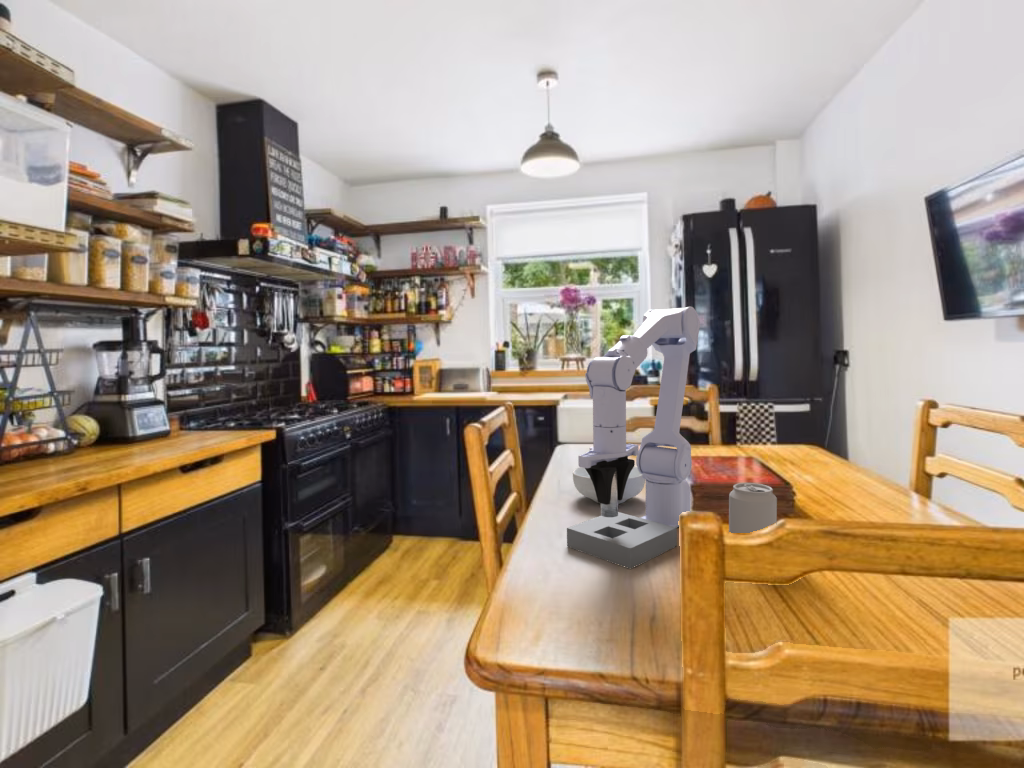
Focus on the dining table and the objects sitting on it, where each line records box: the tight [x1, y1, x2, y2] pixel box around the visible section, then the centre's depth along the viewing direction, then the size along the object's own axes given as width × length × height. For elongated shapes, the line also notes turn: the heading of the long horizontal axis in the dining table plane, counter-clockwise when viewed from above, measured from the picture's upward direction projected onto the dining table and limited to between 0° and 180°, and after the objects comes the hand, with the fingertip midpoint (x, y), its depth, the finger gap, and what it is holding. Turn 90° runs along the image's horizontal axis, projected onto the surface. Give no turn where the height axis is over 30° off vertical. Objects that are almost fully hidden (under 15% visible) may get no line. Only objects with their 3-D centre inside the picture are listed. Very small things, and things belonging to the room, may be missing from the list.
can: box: [728, 482, 778, 533], centre depth 92 cm, size 8×8×12 cm
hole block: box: [566, 511, 678, 569], centre depth 97 cm, size 14×14×4 cm
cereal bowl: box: [572, 466, 646, 505], centre depth 127 cm, size 17×17×7 cm
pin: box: [600, 470, 619, 517], centre depth 95 cm, size 3×3×8 cm
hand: (610, 501), depth 95 cm, fingers closed on pin, 3 cm apart
